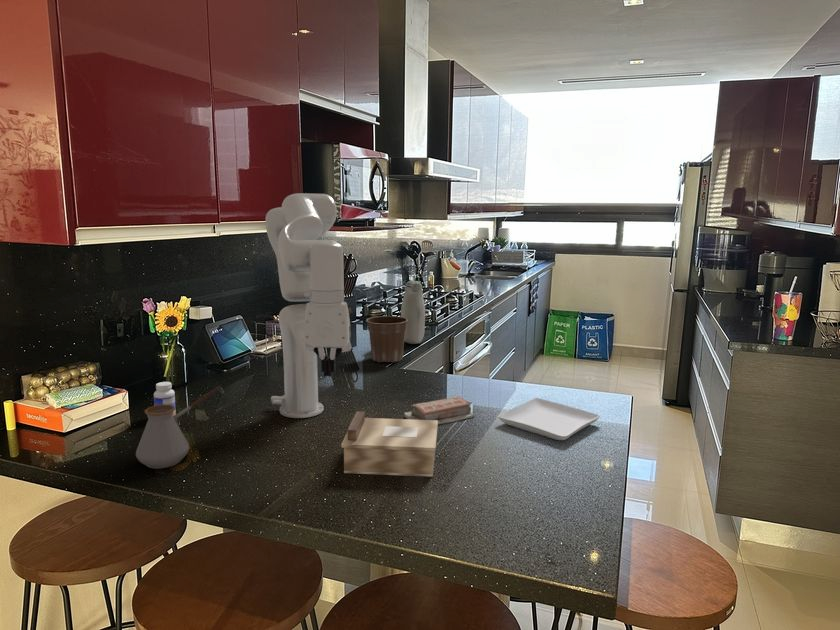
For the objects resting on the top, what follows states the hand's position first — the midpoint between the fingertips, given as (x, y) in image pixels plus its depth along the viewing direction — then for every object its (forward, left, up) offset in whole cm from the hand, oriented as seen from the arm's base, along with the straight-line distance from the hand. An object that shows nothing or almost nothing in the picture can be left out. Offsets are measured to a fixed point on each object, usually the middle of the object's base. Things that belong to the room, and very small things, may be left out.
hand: (328, 374), depth 133 cm
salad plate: (+56, +26, -21) cm, 65 cm away
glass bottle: (+11, +118, -21) cm, 120 cm away
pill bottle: (-52, +22, -21) cm, 60 cm away
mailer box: (+15, 0, -21) cm, 25 cm away
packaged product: (+25, +29, -21) cm, 44 cm away
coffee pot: (-35, -2, -21) cm, 41 cm away
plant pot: (+3, +90, -21) cm, 93 cm away
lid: (+15, 0, -14) cm, 21 cm away
